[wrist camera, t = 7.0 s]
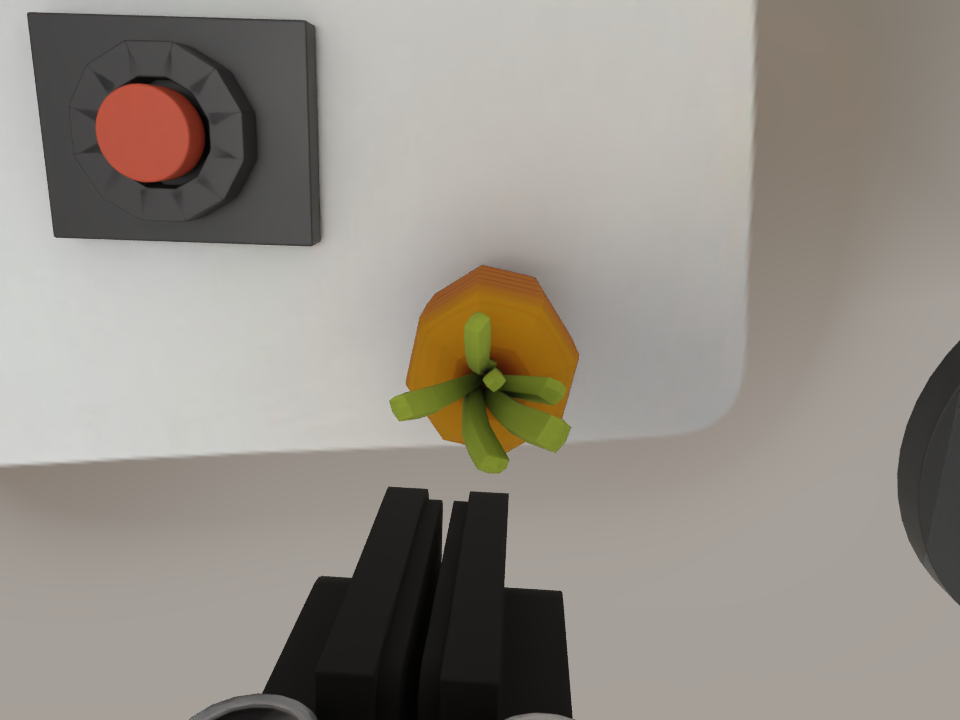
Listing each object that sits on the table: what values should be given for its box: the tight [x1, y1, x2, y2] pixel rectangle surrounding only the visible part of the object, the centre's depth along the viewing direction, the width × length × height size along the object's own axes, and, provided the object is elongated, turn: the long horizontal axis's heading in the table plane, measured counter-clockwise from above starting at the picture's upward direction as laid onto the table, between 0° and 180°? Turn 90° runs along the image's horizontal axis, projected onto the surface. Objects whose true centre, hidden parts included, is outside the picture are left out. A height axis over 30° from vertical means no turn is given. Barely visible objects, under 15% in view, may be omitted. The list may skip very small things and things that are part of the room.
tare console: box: [27, 12, 320, 246], centre depth 29 cm, size 10×8×3 cm
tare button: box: [95, 83, 205, 182], centre depth 27 cm, size 3×3×2 cm
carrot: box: [389, 265, 579, 473], centre depth 25 cm, size 5×5×15 cm
